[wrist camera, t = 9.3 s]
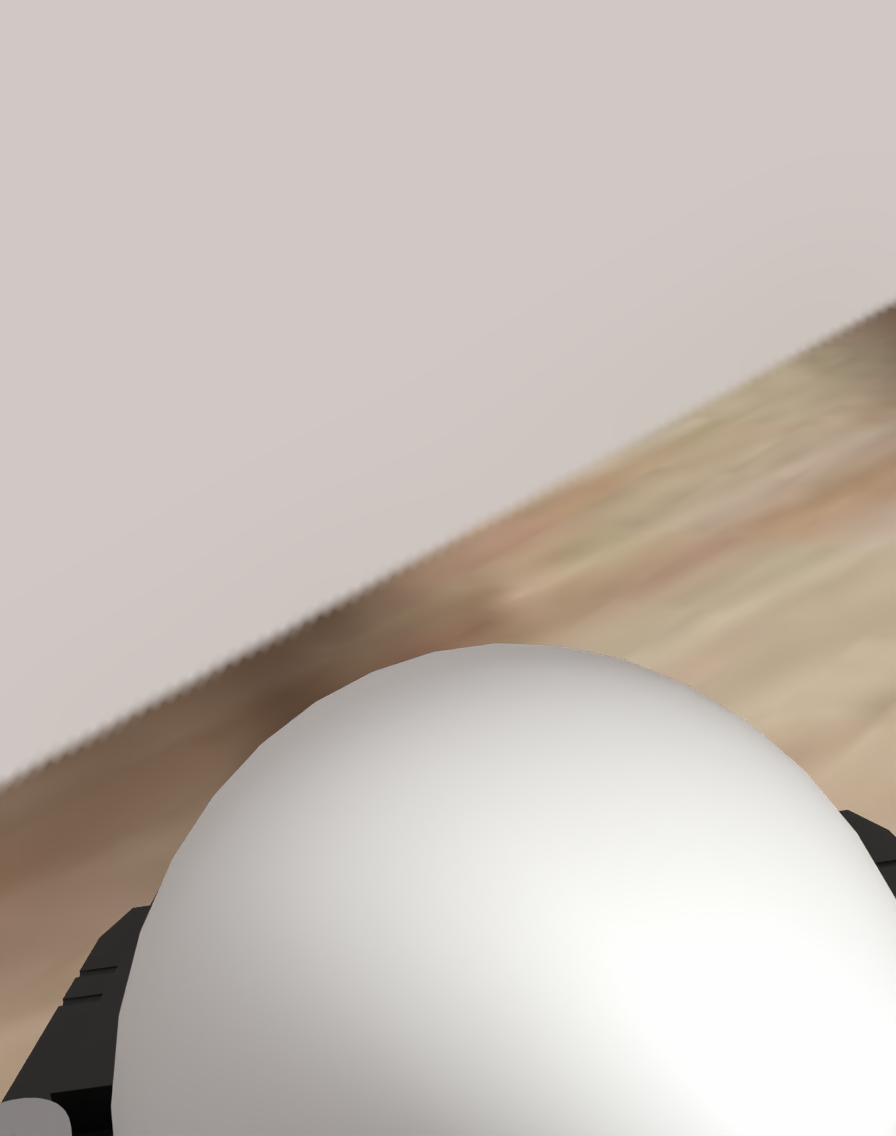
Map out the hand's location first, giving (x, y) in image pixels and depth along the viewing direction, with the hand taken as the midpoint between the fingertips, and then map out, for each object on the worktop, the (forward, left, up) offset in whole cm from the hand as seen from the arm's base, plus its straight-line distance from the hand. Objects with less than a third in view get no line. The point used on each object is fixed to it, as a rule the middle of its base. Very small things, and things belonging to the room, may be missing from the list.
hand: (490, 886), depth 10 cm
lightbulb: (0, +2, -5) cm, 5 cm away
